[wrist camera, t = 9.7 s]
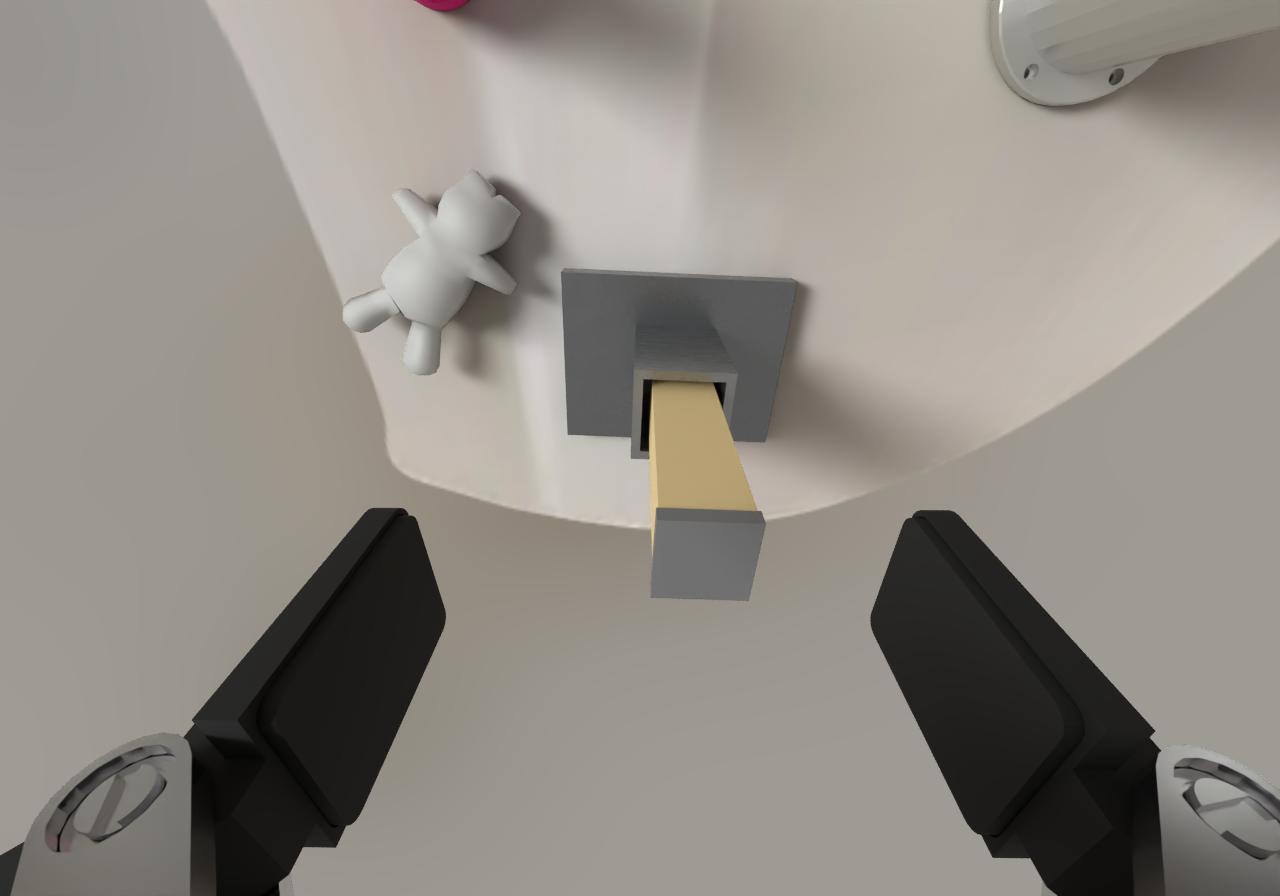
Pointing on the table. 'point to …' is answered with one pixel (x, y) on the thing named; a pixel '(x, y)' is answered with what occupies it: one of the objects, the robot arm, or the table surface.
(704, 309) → the sleeve
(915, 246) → the table surface
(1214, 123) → the table surface
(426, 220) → the grey toy animal
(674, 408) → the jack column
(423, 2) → the pepper mill
